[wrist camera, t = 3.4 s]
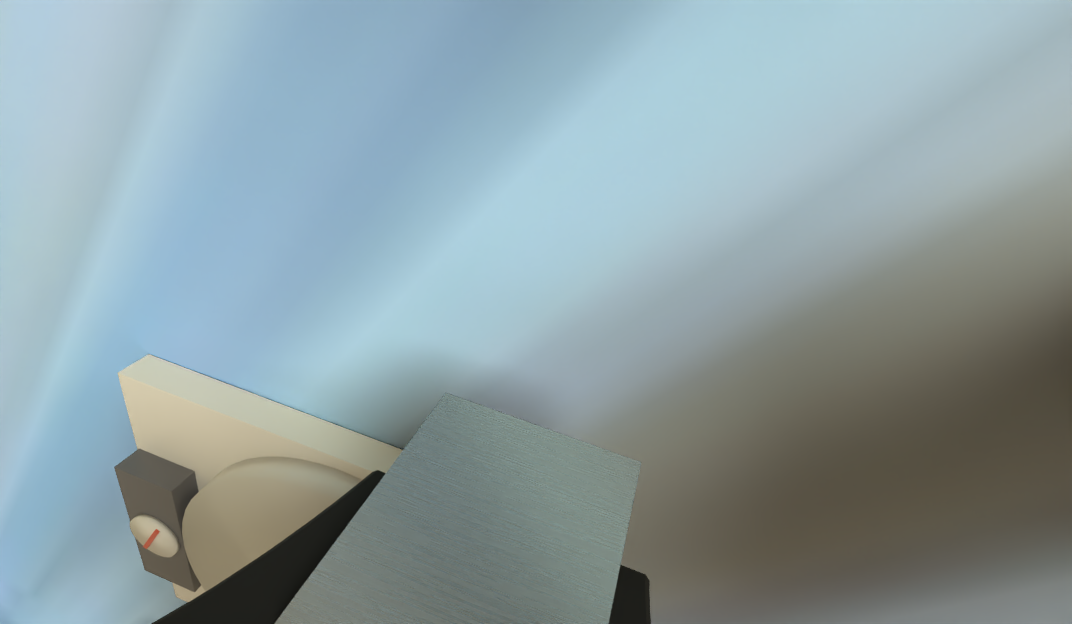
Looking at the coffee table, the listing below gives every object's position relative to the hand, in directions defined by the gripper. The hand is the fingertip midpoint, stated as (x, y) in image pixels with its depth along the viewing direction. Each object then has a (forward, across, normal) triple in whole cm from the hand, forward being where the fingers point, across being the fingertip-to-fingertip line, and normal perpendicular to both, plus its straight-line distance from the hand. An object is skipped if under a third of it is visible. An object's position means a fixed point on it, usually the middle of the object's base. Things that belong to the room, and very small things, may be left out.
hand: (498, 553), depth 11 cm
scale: (+5, +7, +11) cm, 14 cm away
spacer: (+2, 0, 0) cm, 2 cm away
